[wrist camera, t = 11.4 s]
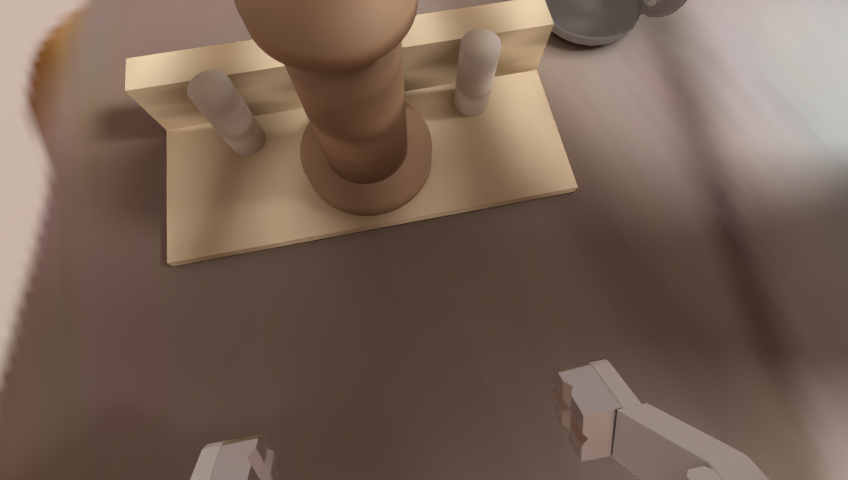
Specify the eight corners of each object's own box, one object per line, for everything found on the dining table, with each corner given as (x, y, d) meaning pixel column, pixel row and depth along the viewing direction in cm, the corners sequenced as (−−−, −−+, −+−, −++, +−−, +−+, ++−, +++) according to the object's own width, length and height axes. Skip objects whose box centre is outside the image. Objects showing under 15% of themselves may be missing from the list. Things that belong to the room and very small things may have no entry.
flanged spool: (418, 96, 24) (416, -112, 14) (443, 203, 22) (463, 51, 11) (300, 115, 23) (205, -85, 13) (313, 227, 21) (213, 91, 11)
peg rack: (525, 51, 26) (548, -22, 21) (573, 191, 23) (614, 143, 18) (172, 107, 24) (111, 43, 19) (173, 266, 21) (102, 235, 16)
